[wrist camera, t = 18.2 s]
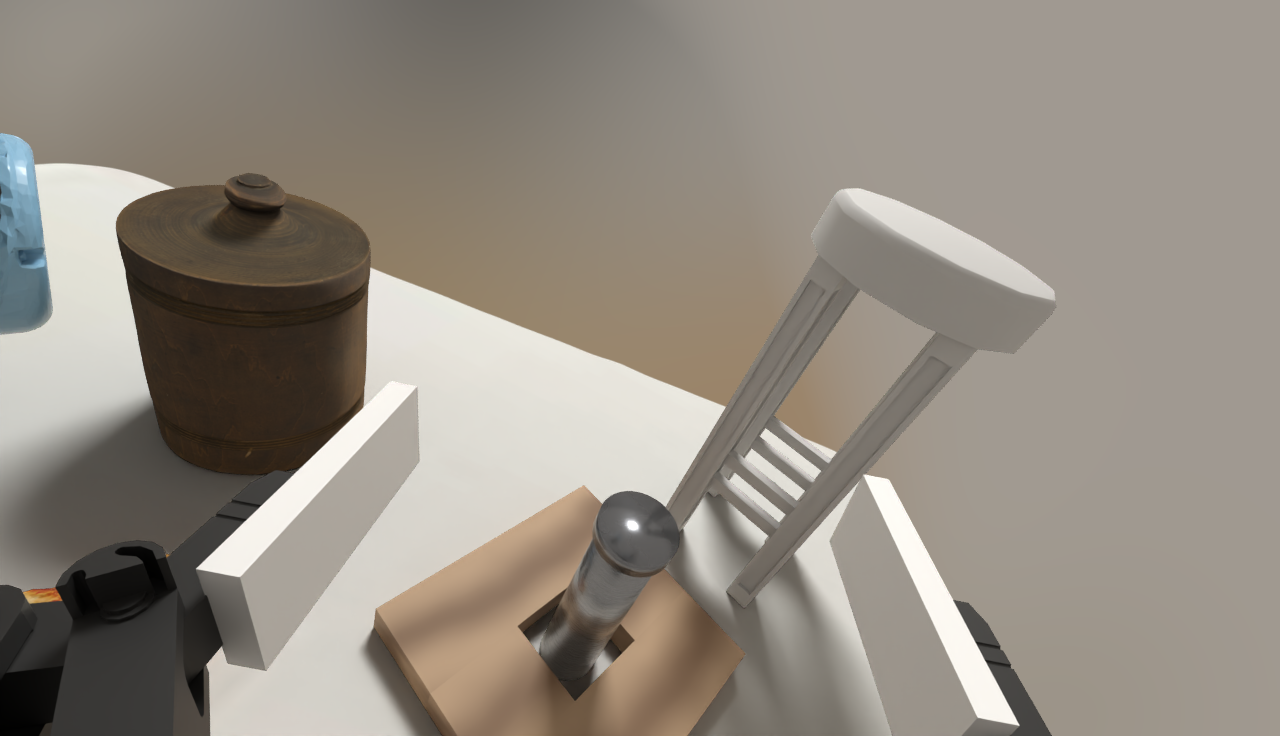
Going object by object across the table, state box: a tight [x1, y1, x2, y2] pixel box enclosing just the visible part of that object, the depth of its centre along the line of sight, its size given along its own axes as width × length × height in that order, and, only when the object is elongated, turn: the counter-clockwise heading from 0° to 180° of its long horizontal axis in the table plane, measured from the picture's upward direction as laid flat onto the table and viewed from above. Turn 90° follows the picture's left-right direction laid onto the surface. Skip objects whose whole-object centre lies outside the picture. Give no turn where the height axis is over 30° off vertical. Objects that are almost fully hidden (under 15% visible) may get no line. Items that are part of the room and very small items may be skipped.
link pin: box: [540, 491, 680, 680], centre depth 35 cm, size 5×5×16 cm
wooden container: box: [116, 173, 370, 475], centre depth 41 cm, size 15×15×22 cm
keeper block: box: [374, 486, 745, 736], centre depth 39 cm, size 20×20×2 cm
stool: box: [666, 188, 1056, 608], centre depth 45 cm, size 16×16×35 cm
